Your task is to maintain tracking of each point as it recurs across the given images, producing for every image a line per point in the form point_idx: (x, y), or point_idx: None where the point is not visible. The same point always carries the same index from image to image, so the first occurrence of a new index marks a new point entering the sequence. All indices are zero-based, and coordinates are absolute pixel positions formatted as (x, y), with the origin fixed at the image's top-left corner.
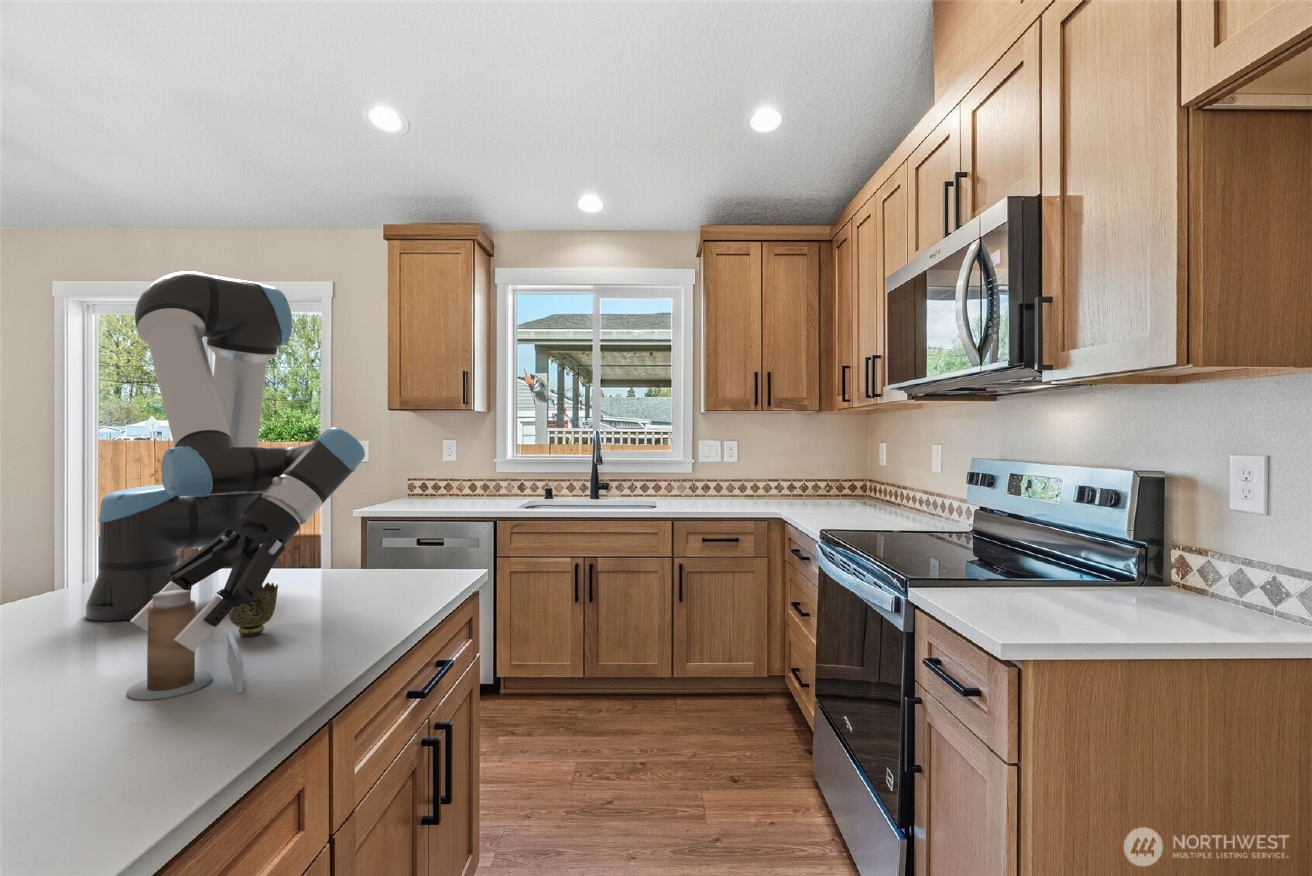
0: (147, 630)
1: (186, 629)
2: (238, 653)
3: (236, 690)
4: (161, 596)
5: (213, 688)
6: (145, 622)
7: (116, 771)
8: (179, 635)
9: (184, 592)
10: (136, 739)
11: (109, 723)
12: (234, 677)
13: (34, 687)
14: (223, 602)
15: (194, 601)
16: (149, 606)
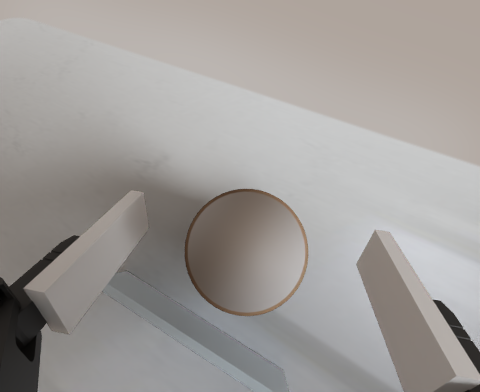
0: (358, 261)
1: (115, 205)
2: (141, 313)
3: (136, 277)
4: (234, 205)
5: (178, 269)
6: (369, 258)
7: (72, 97)
8: (130, 196)
9: (221, 281)
10: (120, 138)
11: (191, 147)
12: (160, 296)
13: (412, 165)
14: (16, 286)
15: (223, 309)
16: (286, 206)
